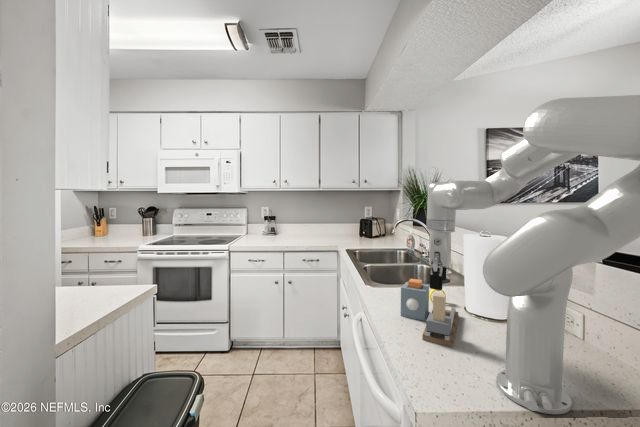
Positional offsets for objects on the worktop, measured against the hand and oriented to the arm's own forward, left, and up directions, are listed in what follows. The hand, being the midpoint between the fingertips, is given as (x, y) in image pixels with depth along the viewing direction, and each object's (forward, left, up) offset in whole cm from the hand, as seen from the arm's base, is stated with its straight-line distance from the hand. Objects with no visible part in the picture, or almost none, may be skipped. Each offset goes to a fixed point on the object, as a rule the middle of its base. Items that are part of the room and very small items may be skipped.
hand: (438, 284), depth 82 cm
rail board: (+8, 0, -16) cm, 18 cm away
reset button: (+14, +9, -7) cm, 18 cm away
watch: (+30, +4, -16) cm, 34 cm away
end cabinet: (+14, +9, -16) cm, 23 cm away
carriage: (0, 0, -13) cm, 13 cm away
